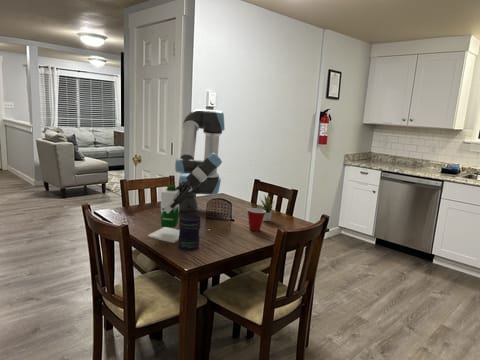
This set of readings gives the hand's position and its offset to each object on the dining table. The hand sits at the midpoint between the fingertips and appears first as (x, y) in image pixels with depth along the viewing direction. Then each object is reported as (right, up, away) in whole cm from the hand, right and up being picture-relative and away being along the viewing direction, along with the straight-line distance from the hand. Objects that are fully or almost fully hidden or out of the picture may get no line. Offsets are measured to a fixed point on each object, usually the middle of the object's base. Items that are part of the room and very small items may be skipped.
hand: (163, 209), depth 175 cm
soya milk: (+2, -9, +3) cm, 9 cm away
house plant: (+53, -11, +43) cm, 69 cm away
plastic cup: (+46, -14, +24) cm, 54 cm away
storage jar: (+14, -17, -9) cm, 24 cm away
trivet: (+2, -14, +4) cm, 14 cm away
